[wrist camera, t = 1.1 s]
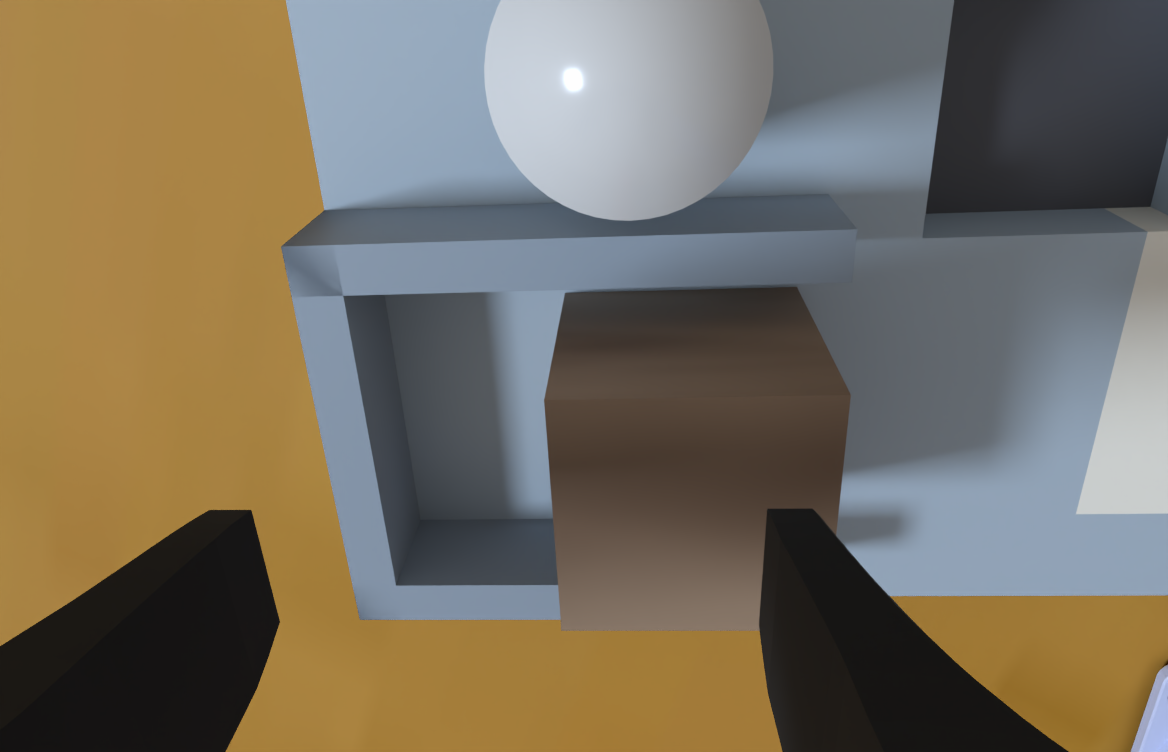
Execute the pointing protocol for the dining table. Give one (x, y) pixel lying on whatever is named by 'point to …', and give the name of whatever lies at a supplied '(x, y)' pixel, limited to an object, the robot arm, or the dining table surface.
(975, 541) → the deck
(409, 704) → the dining table surface
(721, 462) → the walnut block
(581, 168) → the white egg
